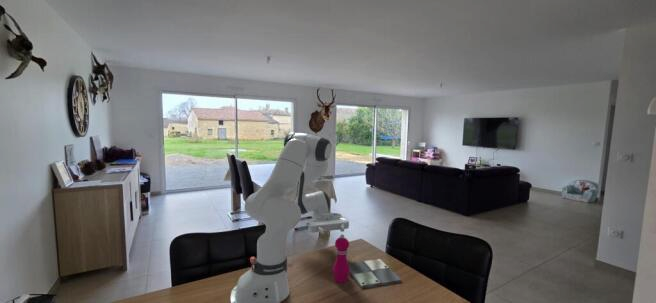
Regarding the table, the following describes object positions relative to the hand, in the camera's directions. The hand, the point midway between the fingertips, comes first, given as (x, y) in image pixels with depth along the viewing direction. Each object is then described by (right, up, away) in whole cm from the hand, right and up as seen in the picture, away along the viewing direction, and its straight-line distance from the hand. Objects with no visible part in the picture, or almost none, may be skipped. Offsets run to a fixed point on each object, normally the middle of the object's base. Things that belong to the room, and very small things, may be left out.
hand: (333, 231), depth 130 cm
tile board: (+17, -18, -5) cm, 25 cm away
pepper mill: (+3, -18, -10) cm, 21 cm away
